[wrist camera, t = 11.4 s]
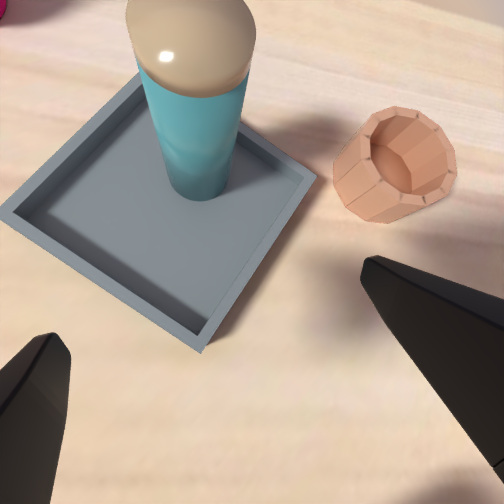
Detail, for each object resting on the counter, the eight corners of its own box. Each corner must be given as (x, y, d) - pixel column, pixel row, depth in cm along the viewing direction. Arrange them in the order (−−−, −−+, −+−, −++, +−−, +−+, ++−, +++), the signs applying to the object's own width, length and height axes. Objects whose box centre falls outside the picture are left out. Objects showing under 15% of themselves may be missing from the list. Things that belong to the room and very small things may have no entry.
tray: (306, 188, 24) (317, 175, 22) (200, 348, 20) (200, 353, 18) (157, 84, 24) (151, 59, 21) (17, 225, 20) (-8, 214, 17)
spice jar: (232, 152, 23) (261, -9, 11) (225, 206, 22) (249, 90, 10) (173, 140, 22) (139, -44, 10) (163, 195, 21) (112, 59, 9)
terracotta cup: (427, 173, 27) (469, 147, 23) (392, 240, 25) (432, 226, 21) (358, 124, 27) (388, 88, 22) (317, 187, 25) (342, 161, 20)
